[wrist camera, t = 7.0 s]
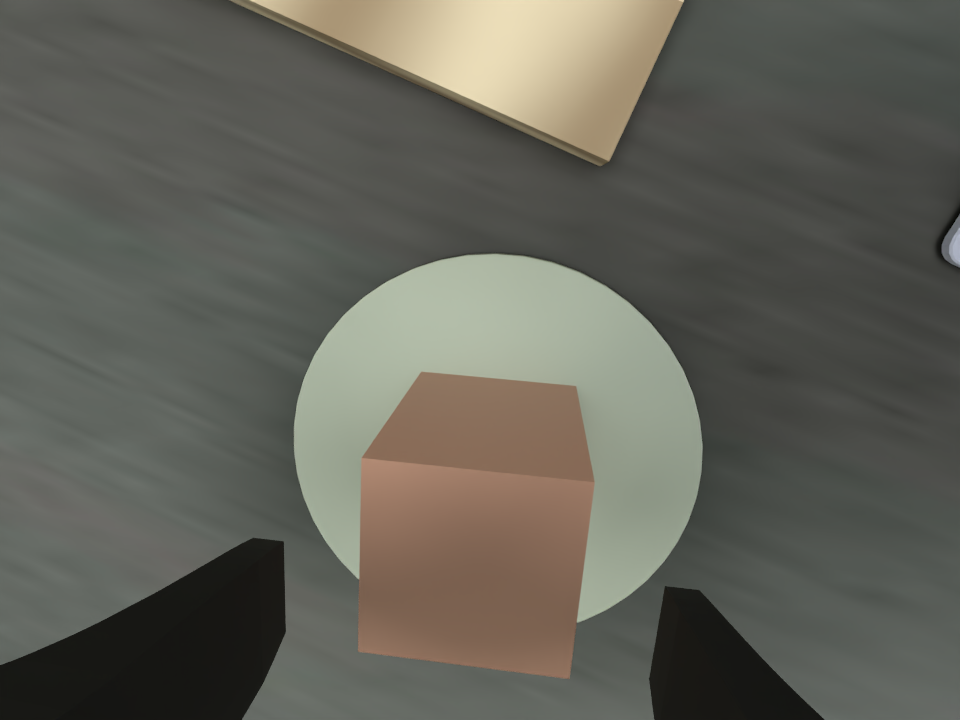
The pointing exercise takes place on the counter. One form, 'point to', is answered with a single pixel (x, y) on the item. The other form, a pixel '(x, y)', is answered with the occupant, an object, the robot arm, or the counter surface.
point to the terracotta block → (476, 525)
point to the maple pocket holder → (505, 56)
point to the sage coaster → (523, 357)
